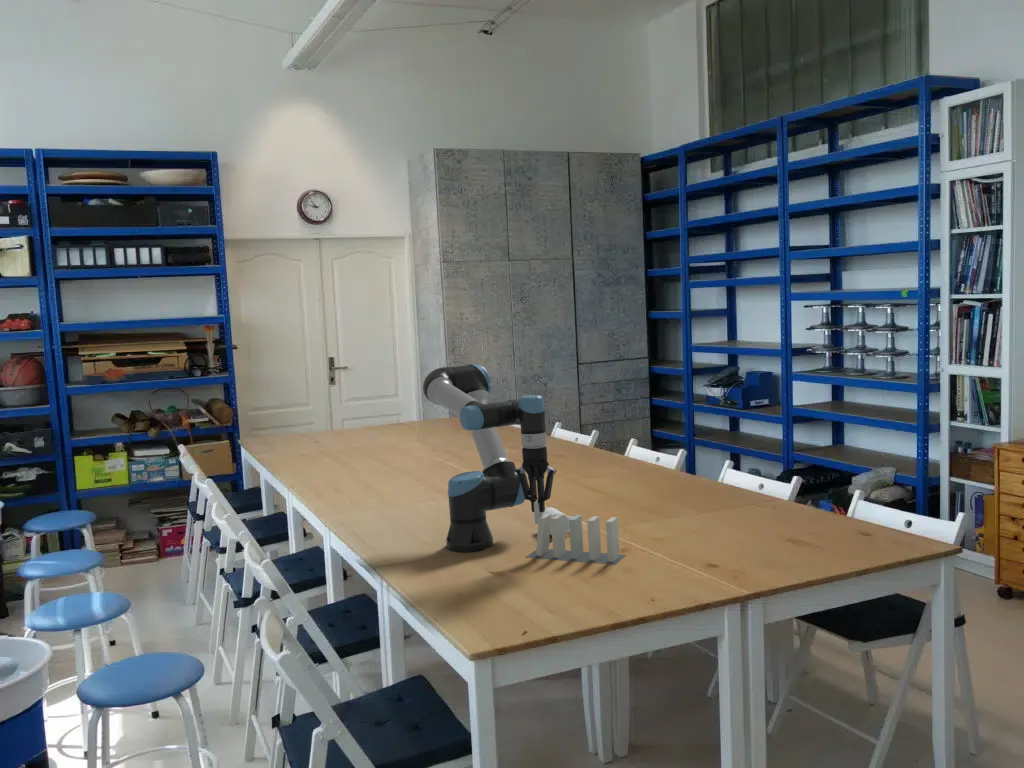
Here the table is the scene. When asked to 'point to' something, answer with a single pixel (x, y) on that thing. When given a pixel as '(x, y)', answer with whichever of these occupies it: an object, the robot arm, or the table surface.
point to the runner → (567, 557)
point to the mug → (554, 513)
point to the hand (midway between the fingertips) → (539, 522)
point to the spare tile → (576, 536)
